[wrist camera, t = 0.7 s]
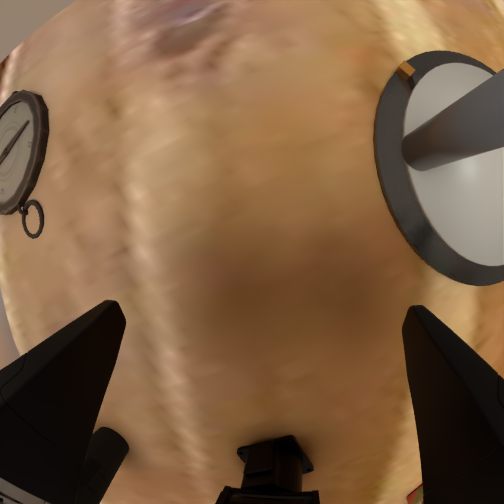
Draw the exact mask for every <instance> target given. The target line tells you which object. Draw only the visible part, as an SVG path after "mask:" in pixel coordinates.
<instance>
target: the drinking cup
mask: <svg viewBox="0 0 504 504" xmlns="http://www.w3.org/2000/svg"><path fill="white" fill-rule="evenodd" d="M128 450H129V447H128V444H127V443H126V441H125V440H124V439H123V438H122V437H121V436H120V435H119V434H118V433H117V432H115V431H113V430H111V429H109V428H106V427H102V428H99V429H98V430H97V431H96V432H95V433H93V434H92V437H91V440H90V444H89V447H88V451H87V455H86V458H85V462H84V467H83V471H82V475H81V479H80V483H79V487H78V492H77V497H76V501H75V504H99V503H100V502H101V500H102V498H103V496H104V494H105V492H106V491H107V489H108V487H109V485H110V483H111V481H112V480H113V478H114V476H115V474H116V472H117V471H118V469H119V467H120V465H121V463H122V462H123V460H124V458H125V456H126V454H127V453H128ZM46 504H51V503H48V502H46Z"/></svg>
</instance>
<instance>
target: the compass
mask: <svg viewBox="0 0 504 504" xmlns="http://www.w3.org/2000/svg"><path fill="white" fill-rule="evenodd" d="M48 136H49V120H48V108H47V106H46V104H45V102H44V100H43V98H42V96H40V95H37V94H34V93H31V92H29V91H26V90H22V91H19V92H18V91H15V92H13V93H12V95H11V96H10V97H9V98H8V99H7V100H6V101H5V102H4V103H3V105H2V106H1V107H0V214H1V215H8V214H13V213H14V212H15V211H17V210H18V211H19V213H20V214H22V224H23V228H24V231H25V232H26V234H27V235H28V236H29V237H31V238H32V239H34V238H38V237H39V235H40V234H41V233H42V229H43V225H44V215H43V212H42V208H41V206H40V205H39V204H38V202H36V201H34V200H30V201H27V199H28V197H29V196H30V194H31V192H32V191H33V189H34V187H35V186H36V183H37V180H38V177H39V174H40V171H41V168H42V165H43V162H44V160H45V154H46V147H47V141H48ZM26 201H27V202H26ZM25 202H26V204H25ZM31 204H32V205H34V206H35V207H36V209H37V210H38V213H39V217H40V225H39V230H38V231H37V233H36V234H31V233H29V231H28V229H27V227H26V223H25V218H26V216H25V215H27V214H28V210H27V208H28V207H29V205H31ZM21 207H23V211H22V210H21Z"/></svg>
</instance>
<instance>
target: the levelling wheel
mask: <svg viewBox="0 0 504 504" xmlns="http://www.w3.org/2000/svg"><path fill="white" fill-rule="evenodd" d="M401 151H402V155H403V158H404V163H405V169H406V172H407V176H408V180H409V183H410V186H411V189H412V192H413V194H414V197H415V200H416V202H417V204H418V206H419V208H420V210H421V212H422V214H423V216H424V217H425V219H426V221H427V222H428V224H429V226H430V227H431V228H432V230H433V231H434V232H435V234H436V235H437V236H438V237H439V238H440V240H441V241H442V242H443V243H444V244H445V245H446V246H447V247H449V248H450V249H451V250H452V251H453V252H455V253H456V254H458V255H459V256H461V257H463V258H464V259H467V260H469V261H472V262H475V263H478V264H482V265H487V266H500V265H504V69H502V70H501V71H499V72H498V73H496V74H495V75H492V74H490V73H488V72H487V71H485V70H483V69H481V68H478V67H475V66H472V65H469V64H464V63H448V64H443V65H440V66H438V67H435V68H434V69H432V70H431V71H429V72H428V73H427V74H426V75H425V76H424V77H423V78H422V79H421V80H420V81H419V82H418V83H417V84H416V86H415V87H414V89H413V90H412V91H411V94H410V96H409V98H408V100H407V103H406V107H405V110H404V115H403V122H402V144H401Z"/></svg>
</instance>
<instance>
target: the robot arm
mask: <svg viewBox="0 0 504 504" xmlns="http://www.w3.org/2000/svg"><path fill="white" fill-rule="evenodd" d="M125 327H126V319H125V316H124V314H123V312H122V310H121V307H120V305H119V303H118V302H117V301H115V300H105V301H103V302H102V303H100V304H99V305H97V306H95V307H94V308H92V309H91V310H89V311H88V312H86V313H85V314H83V315H82V316H80V317H79V318H77V319H76V320H74V321H73V322H71V323H69V324H68V325H66V326H65V327H63V328H62V329H60V330H59V331H57V332H56V333H55V334H53V335H52V336H50V337H49V338H47V339H46V340H44V341H43V342H41V343H40V344H38V345H37V346H35V347H34V348H33V349H31V350H30V351H28V353H25V354H24V355H22V356H21V357H20V358H18V359H17V360H15V361H14V362H12V363H11V364H9V365H8V366H6V367H4V368H3V369H1V370H0V504H46V502H48V503H51V504H75V501H76V497H77V492H78V487H79V483H80V479H81V475H82V471H83V467H84V462H85V458H86V455H87V451H88V447H89V444H90V440H91V437H92V433H93V430H94V427H95V423H96V420H97V417H98V414H99V411H100V408H101V404H102V401H103V398H104V395H105V392H106V390H107V387H108V384H109V381H110V378H111V375H112V372H113V370H114V367H115V364H116V360H117V357H118V353H119V349H120V345H121V341H122V338H123V334H124V331H125ZM402 336H403V343H404V351H405V360H406V369H407V377H408V383H409V388H410V393H411V398H412V404H413V409H414V415H415V421H416V428H417V435H418V443H419V451H420V460H421V471H422V484H423V504H504V379H503V378H502V377H501V376H500V375H498V373H497V372H496V371H495V370H494V369H493V368H492V367H491V366H490V365H489V364H488V363H487V362H486V361H485V360H484V359H483V358H481V357H480V356H479V355H478V354H477V353H476V352H475V351H474V350H473V349H472V348H471V347H470V346H469V345H468V344H466V343H465V342H464V341H463V340H462V339H461V338H460V337H459V336H458V335H457V334H455V333H454V332H453V331H452V330H451V329H450V328H449V327H448V326H446V325H445V324H444V323H443V322H442V321H441V320H440V319H438V318H437V317H436V316H435V315H434V314H433V313H431V312H430V311H429V310H428V309H427V308H426V307H424V306H423V305H413V306H410V307H409V309H408V311H407V314H406V317H405V320H404V323H403V326H402ZM289 440H291V441H289ZM237 454H238V456H239V457H240V458H241V459H242V461H243V462H244V463H245V467H244V471H243V474H244V476H243V480H242V484H241V488H231V487H230V486H225V487H224V489H223V491H221V493H220V495H219V497H218V499H217V501H216V503H215V504H320V501H319V492H318V490H316V491H308V492H302V474H305V473H309V472H312V471H313V470H314V467H313V465H312V464H311V462H310V461H309V459H308V458H307V456H306V455H305V453H304V451H303V450H302V448H301V447H300V445H299V444H298V442H297V441H296V439H295V438H294V437H293V436H287V437H283V438H279V439H276V440H272V441H268V442H264V443H260V444H256V445H251V446H247V447H242V448H238V449H237Z"/></svg>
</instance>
